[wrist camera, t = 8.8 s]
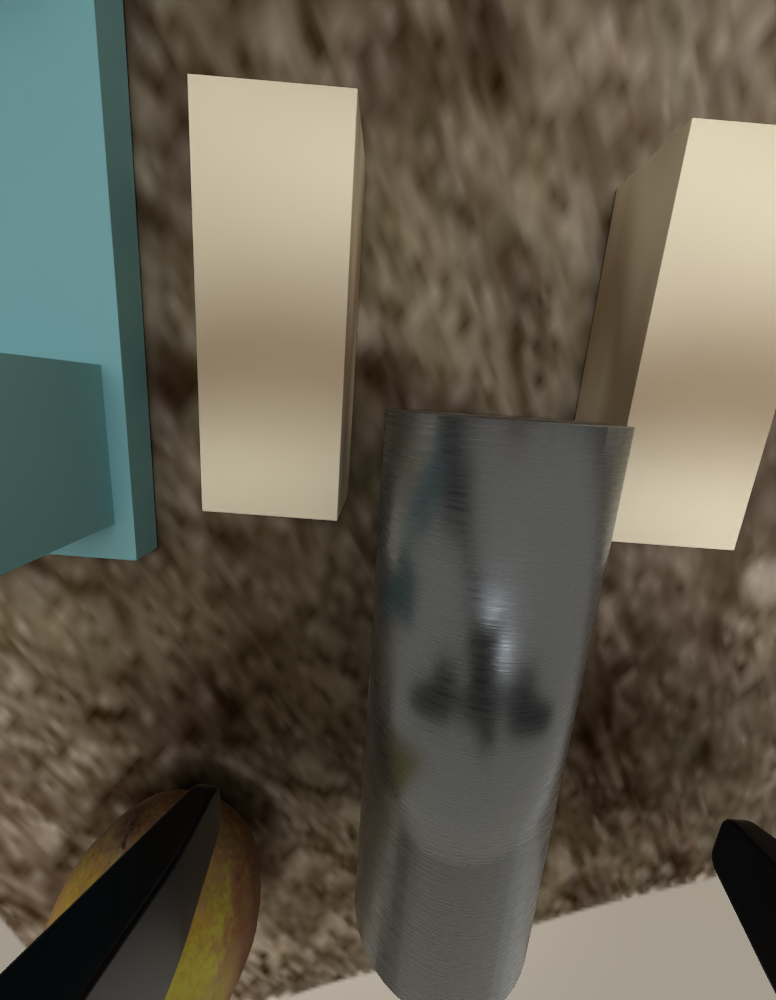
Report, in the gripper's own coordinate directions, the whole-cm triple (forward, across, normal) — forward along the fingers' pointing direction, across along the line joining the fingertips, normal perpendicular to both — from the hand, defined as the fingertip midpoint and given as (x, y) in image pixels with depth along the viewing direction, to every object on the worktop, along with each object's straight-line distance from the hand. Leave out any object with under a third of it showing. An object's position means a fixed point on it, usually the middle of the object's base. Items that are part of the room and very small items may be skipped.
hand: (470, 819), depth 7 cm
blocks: (+6, 0, -8) cm, 10 cm away
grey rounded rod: (+6, 0, 0) cm, 6 cm away
